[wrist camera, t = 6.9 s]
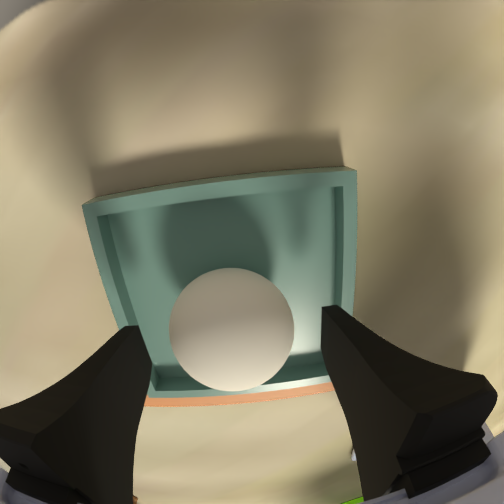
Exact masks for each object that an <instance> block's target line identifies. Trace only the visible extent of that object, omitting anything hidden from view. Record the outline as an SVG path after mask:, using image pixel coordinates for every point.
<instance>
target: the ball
mask: <svg viewBox="0 0 504 504" xmlns="http://www.w3.org/2000/svg"><path fill="white" fill-rule="evenodd" d="M169 338H170V343H171V347H172V350H173V352H174V355H175V357H176V358H177V360H178V362H179V364H180V365H181V366H182V368H183V369H184V370H185V371H186V372H187V373H188V374H189V375H190V376H191V377H192V378H194V379H195V380H196V381H198V382H200V383H202V384H203V385H205V386H208V387H210V388H213V389H217V390H222V391H243V390H247V389H251V388H254V387H257V386H259V385H261V384H263V383H264V382H266V381H268V380H269V379H270V378H272V377H273V376H274V375H275V374H276V373H277V372H278V371H279V370H280V369H281V367H282V366H283V365H284V363H285V361H286V360H287V358H288V356H289V354H290V351H291V348H292V344H293V340H294V320H293V316H292V312H291V309H290V307H289V305H288V302H287V300H286V298H285V297H284V295H283V294H282V293H281V291H280V290H279V289H278V288H277V287H276V286H275V285H274V284H273V283H272V282H271V281H269V280H268V279H266V278H265V277H263V276H261V275H259V274H257V273H255V272H252V271H249V270H246V269H241V268H222V269H216V270H213V271H209V272H207V273H205V274H203V275H201V276H199V277H198V278H196V279H194V280H193V281H192V282H191V283H189V284H188V285H187V286H186V287H185V288H184V289H183V291H182V292H181V293H180V295H179V296H178V298H177V300H176V302H175V304H174V306H173V308H172V311H171V315H170V321H169Z"/></svg>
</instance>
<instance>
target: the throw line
mask: <svg viewBox="0 0 504 504" xmlns="http://www.w3.org/2000/svg"><path fill="white" fill-rule="evenodd" d="M333 390H335V389H334V387H333V384H332V382H327V383H322V384H316V385H310V386H304V387H298V388H291V389H284V390H276V391H268V392H259V393H249V394H238V395H226V396H210V397H186V398H149V397H148V395H147V396H146V400H145V403H144V406H155V407H180V406H210V405H227V404H240V403H251V402H261V401H269V400H277V399H285V398H292V397H299V396H305V395H311V394H317V393H323V392H328V391H333Z"/></svg>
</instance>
